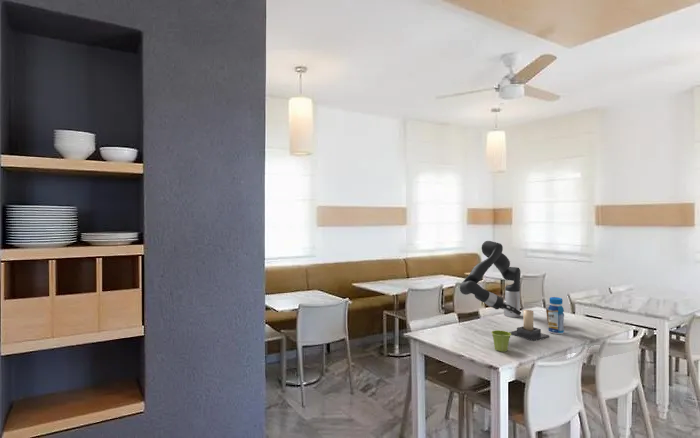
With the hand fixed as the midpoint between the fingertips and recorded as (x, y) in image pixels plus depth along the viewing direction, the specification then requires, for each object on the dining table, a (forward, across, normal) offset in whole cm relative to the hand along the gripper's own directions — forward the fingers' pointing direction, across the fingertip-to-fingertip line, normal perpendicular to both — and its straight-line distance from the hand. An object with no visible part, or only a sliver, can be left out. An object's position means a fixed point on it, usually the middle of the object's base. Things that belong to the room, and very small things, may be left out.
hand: (516, 312), depth 234 cm
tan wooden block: (+9, -5, +8) cm, 13 cm away
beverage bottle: (+27, -1, 0) cm, 27 cm away
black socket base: (+10, -5, +9) cm, 14 cm away
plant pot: (-14, -25, +23) cm, 37 cm away
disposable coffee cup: (+33, +12, -5) cm, 36 cm away
